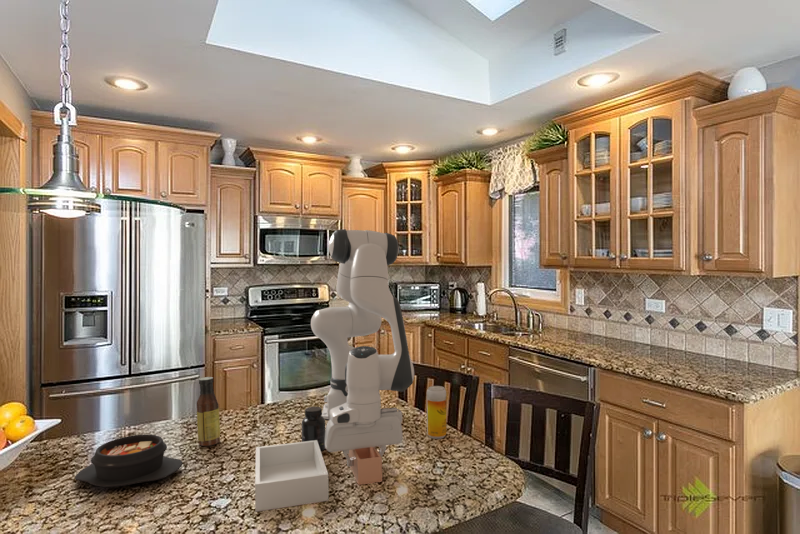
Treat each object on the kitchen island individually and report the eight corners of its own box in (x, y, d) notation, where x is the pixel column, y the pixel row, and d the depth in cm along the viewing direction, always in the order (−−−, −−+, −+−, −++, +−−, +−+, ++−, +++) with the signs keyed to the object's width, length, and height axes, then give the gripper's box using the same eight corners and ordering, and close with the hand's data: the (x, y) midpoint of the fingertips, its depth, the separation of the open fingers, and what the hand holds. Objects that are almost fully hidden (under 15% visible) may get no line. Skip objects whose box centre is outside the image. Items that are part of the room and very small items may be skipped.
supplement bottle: (296, 451, 136) (296, 410, 136) (311, 443, 142) (311, 404, 142) (315, 456, 133) (315, 413, 133) (330, 447, 139) (329, 407, 139)
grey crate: (256, 469, 124) (255, 447, 124) (317, 461, 129) (317, 440, 129) (255, 511, 103) (255, 484, 103) (328, 500, 108) (328, 474, 108)
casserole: (55, 494, 112) (55, 459, 112) (105, 461, 131) (105, 431, 131) (159, 494, 112) (159, 459, 112) (195, 461, 130) (194, 431, 130)
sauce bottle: (223, 439, 146) (223, 375, 146) (214, 447, 140) (213, 380, 140) (203, 439, 147) (202, 375, 147) (193, 447, 141) (192, 380, 140)
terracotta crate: (348, 463, 128) (348, 441, 128) (370, 460, 129) (369, 438, 129) (358, 484, 115) (357, 460, 115) (381, 481, 117) (381, 457, 117)
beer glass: (447, 439, 144) (446, 390, 144) (427, 439, 144) (426, 390, 144) (445, 432, 150) (445, 385, 150) (426, 432, 150) (426, 385, 150)
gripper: (398, 403, 128) (399, 454, 128) (323, 410, 122) (323, 463, 123) (405, 410, 122) (406, 463, 122) (326, 418, 116) (327, 474, 116)
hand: (364, 463), depth 122 cm, fingers closed on terracotta crate, 6 cm apart
